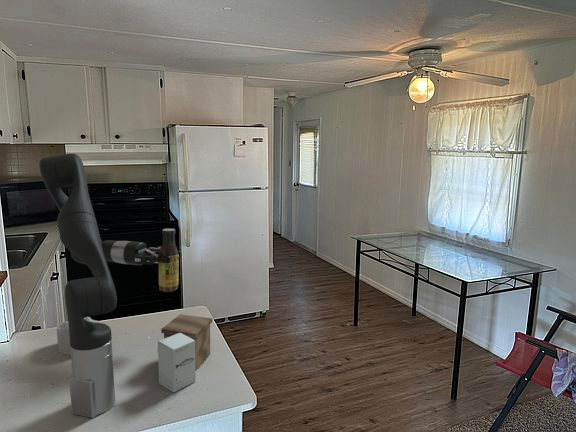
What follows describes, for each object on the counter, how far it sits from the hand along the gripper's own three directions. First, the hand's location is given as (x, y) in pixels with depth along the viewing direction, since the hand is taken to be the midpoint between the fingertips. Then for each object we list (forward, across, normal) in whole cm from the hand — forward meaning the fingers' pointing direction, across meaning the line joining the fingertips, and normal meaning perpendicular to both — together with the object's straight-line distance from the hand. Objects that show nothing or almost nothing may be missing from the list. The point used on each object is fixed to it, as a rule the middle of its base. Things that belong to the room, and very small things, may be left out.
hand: (175, 257), depth 131 cm
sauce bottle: (-2, 0, +11) cm, 11 cm away
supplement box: (+11, -20, +30) cm, 38 cm away
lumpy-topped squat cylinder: (-29, -11, +30) cm, 43 cm away
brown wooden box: (+8, -9, +30) cm, 32 cm away
